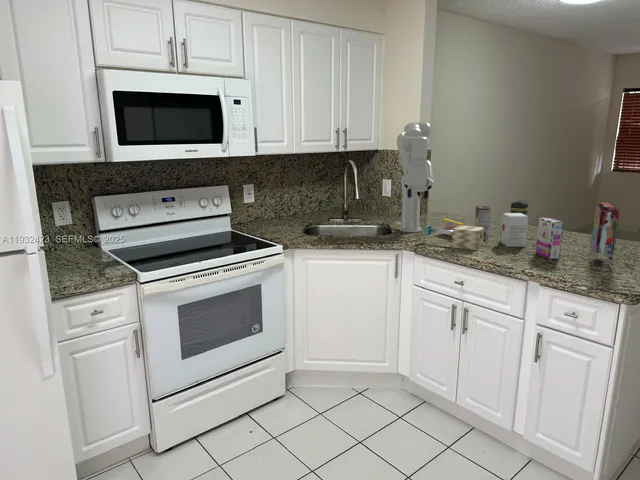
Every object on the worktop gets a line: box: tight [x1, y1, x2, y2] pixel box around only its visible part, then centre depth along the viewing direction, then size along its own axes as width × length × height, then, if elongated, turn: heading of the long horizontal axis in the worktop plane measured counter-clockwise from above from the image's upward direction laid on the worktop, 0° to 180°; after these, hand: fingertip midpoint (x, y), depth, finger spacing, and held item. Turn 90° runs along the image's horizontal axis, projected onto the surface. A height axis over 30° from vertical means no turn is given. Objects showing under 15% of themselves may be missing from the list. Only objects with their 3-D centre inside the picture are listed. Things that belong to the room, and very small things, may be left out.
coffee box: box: [474, 205, 491, 241], centre depth 234 cm, size 9×6×16 cm
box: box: [589, 201, 620, 270], centre depth 188 cm, size 25×6×24 cm, turn 156°
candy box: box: [442, 218, 465, 237], centre depth 240 cm, size 16×2×8 cm, turn 19°
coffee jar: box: [509, 199, 529, 216], centre depth 237 cm, size 10×8×19 cm
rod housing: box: [451, 225, 484, 251], centre depth 217 cm, size 12×10×9 cm
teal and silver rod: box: [423, 224, 453, 236], centre depth 223 cm, size 18×4×4 cm, turn 57°
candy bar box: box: [535, 217, 564, 260], centre depth 197 cm, size 11×5×16 cm, turn 5°
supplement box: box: [500, 212, 529, 248], centre depth 218 cm, size 9×9×15 cm
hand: (417, 197), depth 227 cm, fingers open, 7 cm apart
